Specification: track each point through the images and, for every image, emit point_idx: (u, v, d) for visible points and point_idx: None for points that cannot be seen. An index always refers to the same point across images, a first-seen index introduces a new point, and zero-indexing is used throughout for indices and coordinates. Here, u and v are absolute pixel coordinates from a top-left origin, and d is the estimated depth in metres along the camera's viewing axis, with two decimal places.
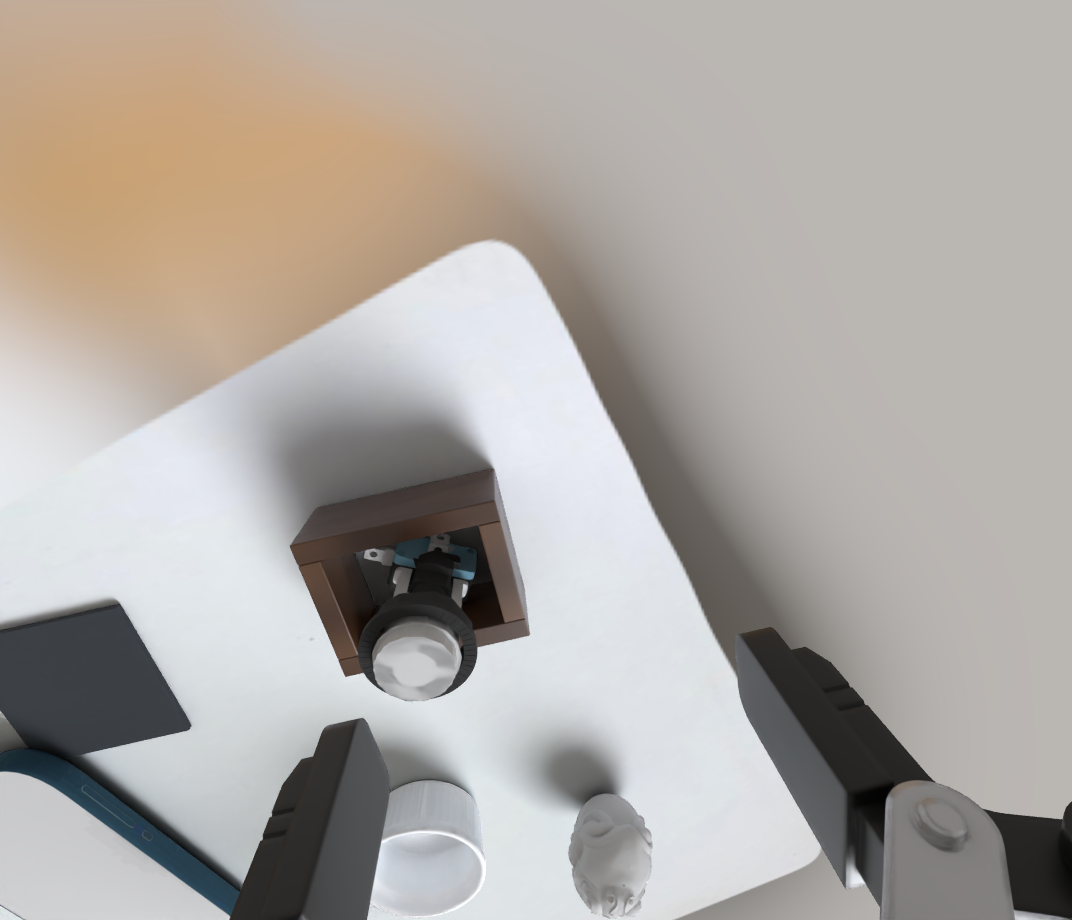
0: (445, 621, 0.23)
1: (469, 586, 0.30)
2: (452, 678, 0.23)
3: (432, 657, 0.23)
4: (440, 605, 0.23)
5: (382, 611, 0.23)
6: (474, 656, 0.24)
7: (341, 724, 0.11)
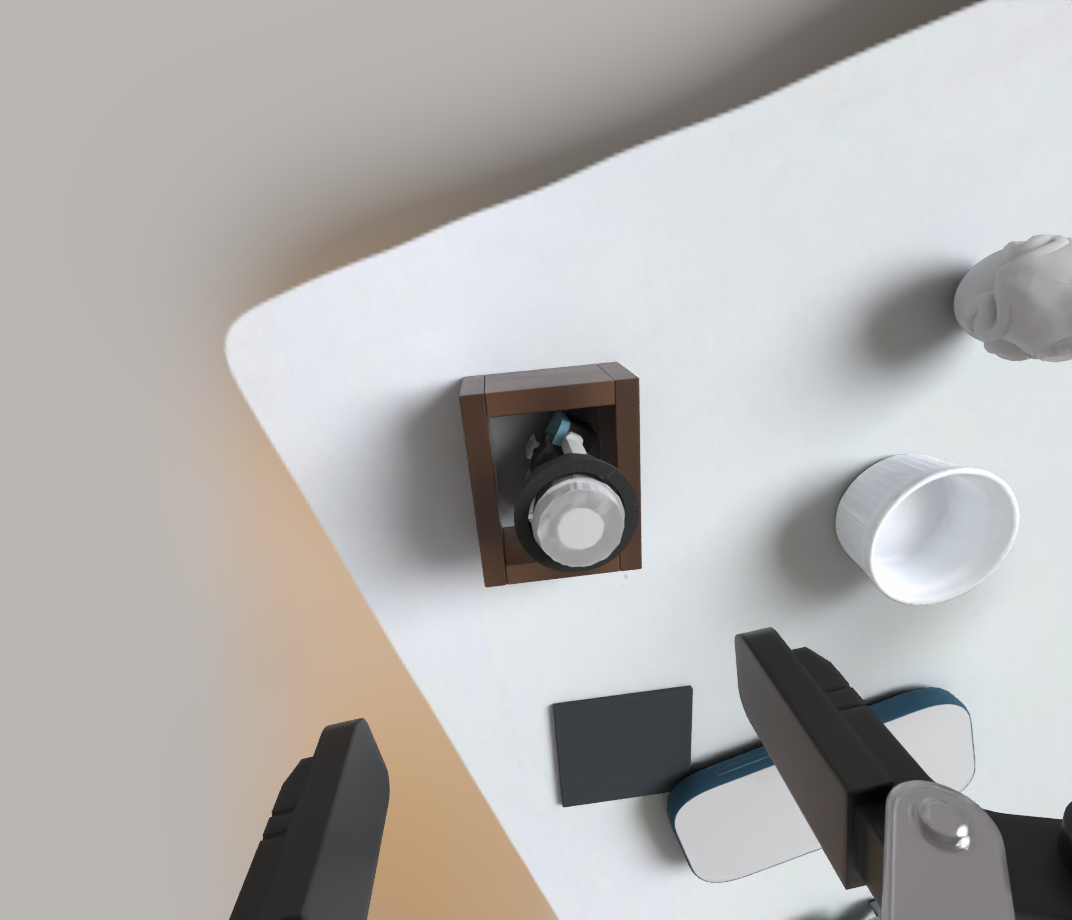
0: (541, 486, 0.22)
1: (578, 429, 0.28)
2: (601, 494, 0.21)
3: (569, 510, 0.21)
4: (523, 487, 0.22)
5: (520, 541, 0.23)
6: (594, 462, 0.22)
7: (341, 724, 0.11)
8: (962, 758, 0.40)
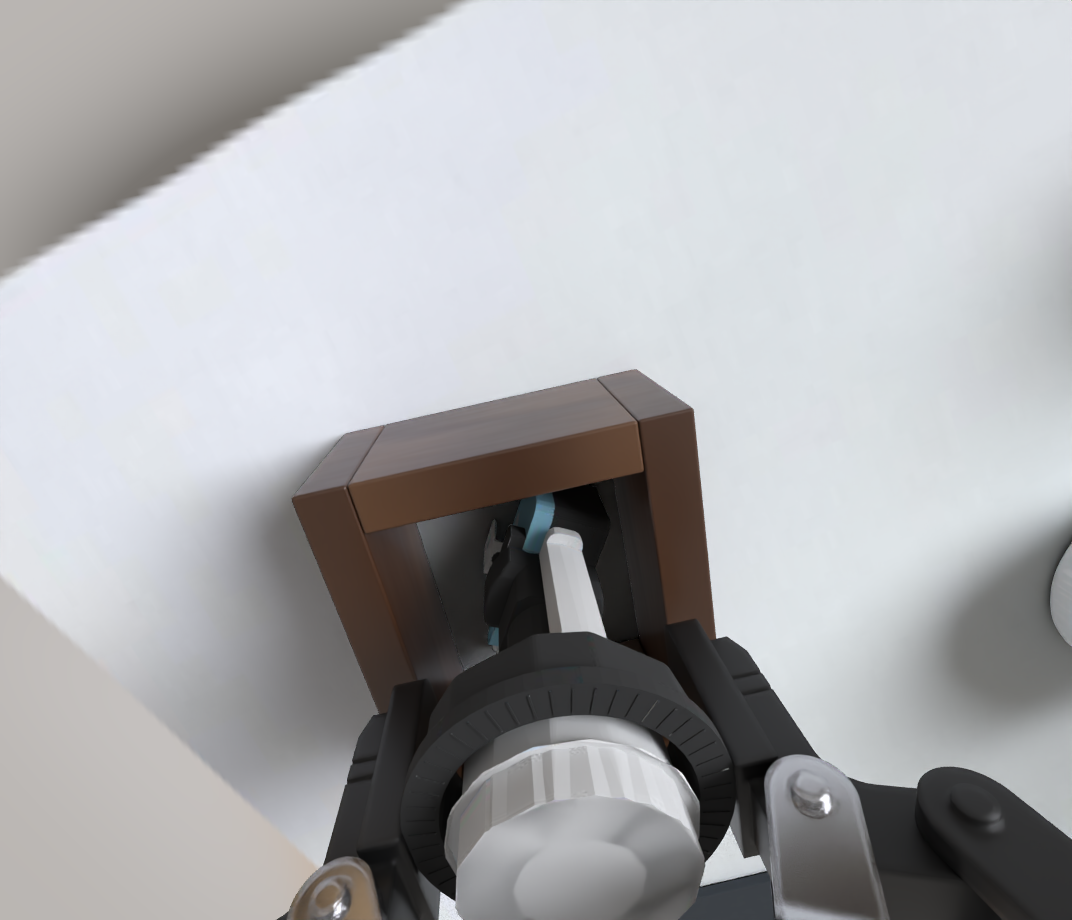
0: (460, 760, 0.08)
1: (572, 516, 0.14)
2: (628, 805, 0.07)
3: (537, 851, 0.07)
4: (413, 761, 0.08)
5: None
6: (600, 688, 0.07)
7: (410, 683, 0.11)
8: None
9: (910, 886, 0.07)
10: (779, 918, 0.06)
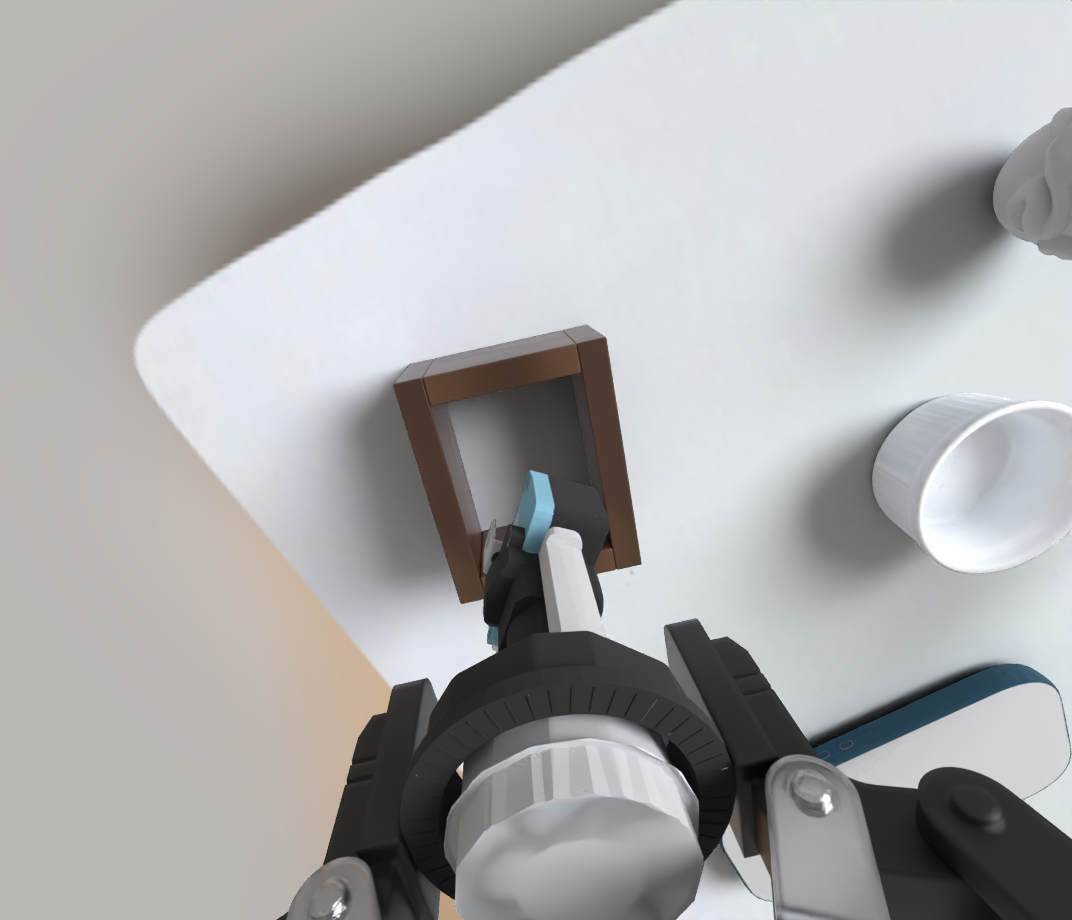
0: (459, 759, 0.08)
1: (571, 515, 0.14)
2: (627, 804, 0.07)
3: (536, 850, 0.07)
4: (413, 760, 0.08)
5: None
6: (599, 687, 0.07)
7: (409, 683, 0.11)
8: (1054, 742, 0.34)
9: (910, 886, 0.07)
10: (779, 918, 0.06)
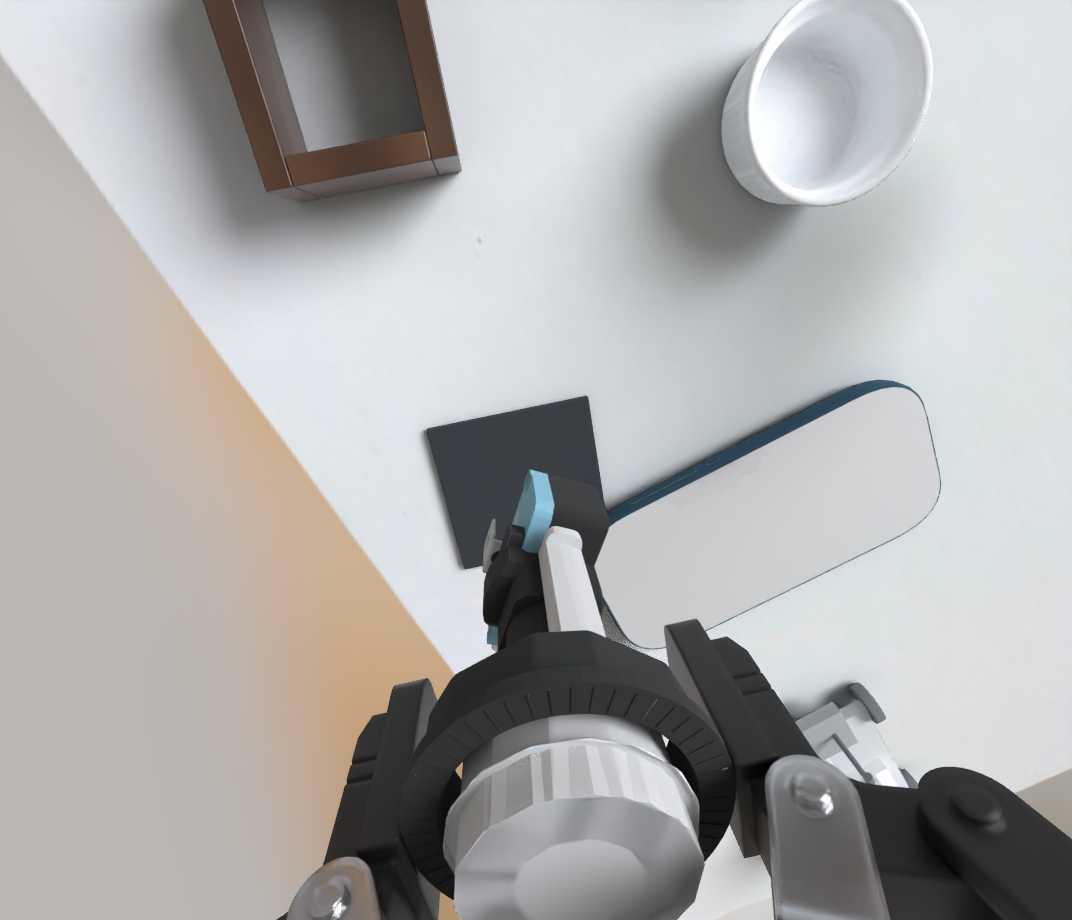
0: (458, 759, 0.08)
1: (571, 515, 0.14)
2: (627, 804, 0.07)
3: (536, 850, 0.07)
4: (412, 760, 0.08)
5: None
6: (599, 687, 0.07)
7: (409, 683, 0.11)
8: (923, 466, 0.34)
9: (910, 886, 0.07)
10: (779, 918, 0.06)
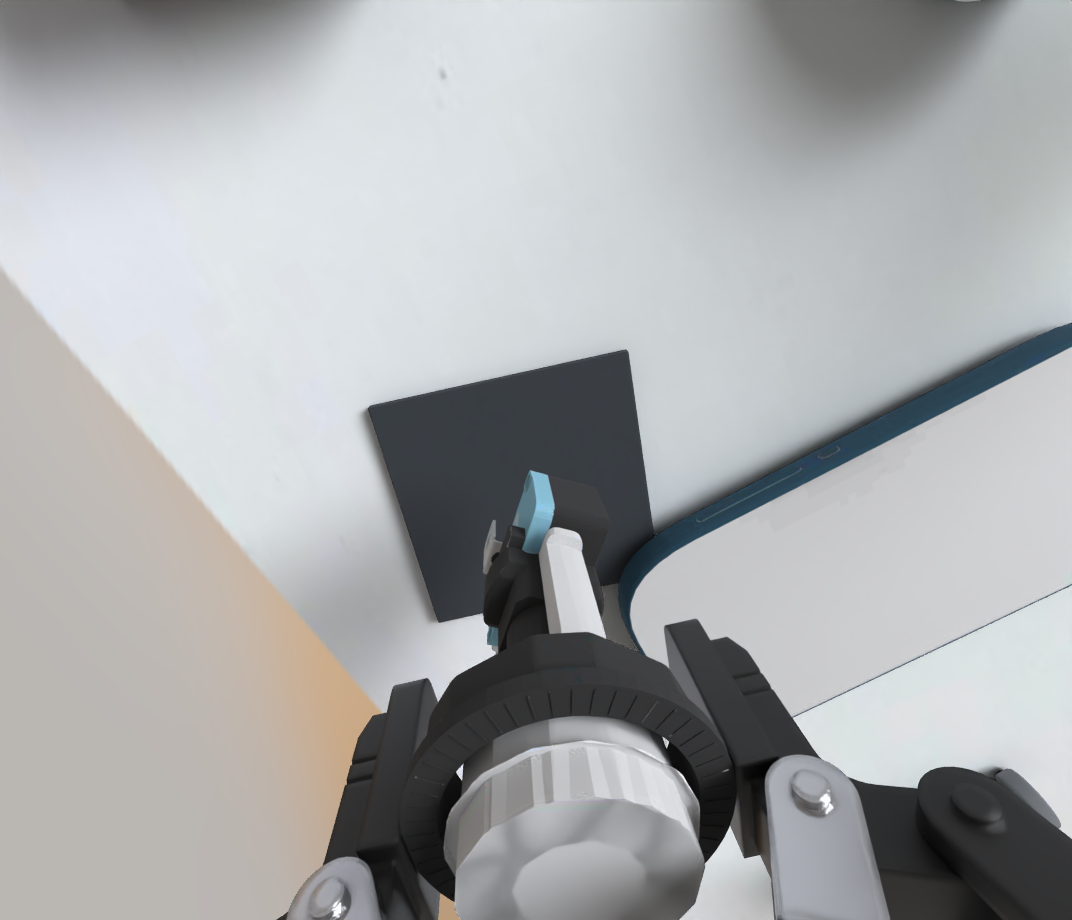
0: (459, 761, 0.08)
1: (572, 516, 0.14)
2: (628, 806, 0.07)
3: (536, 852, 0.07)
4: (412, 762, 0.08)
5: None
6: (600, 688, 0.07)
7: (409, 683, 0.11)
8: None
9: (910, 886, 0.07)
10: (780, 918, 0.06)
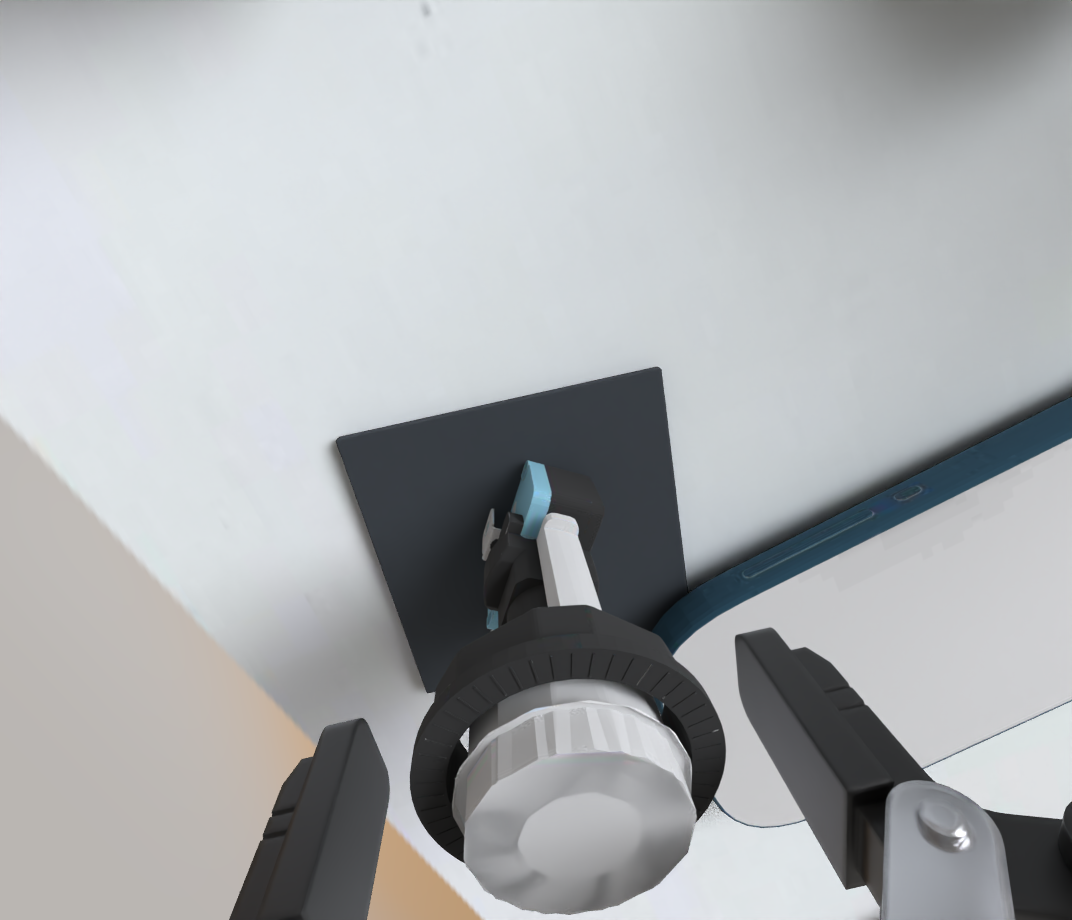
0: (466, 723, 0.08)
1: (568, 502, 0.14)
2: (625, 758, 0.07)
3: (540, 804, 0.08)
4: (422, 726, 0.08)
5: None
6: (598, 652, 0.08)
7: (341, 724, 0.11)
8: None
9: None
10: None
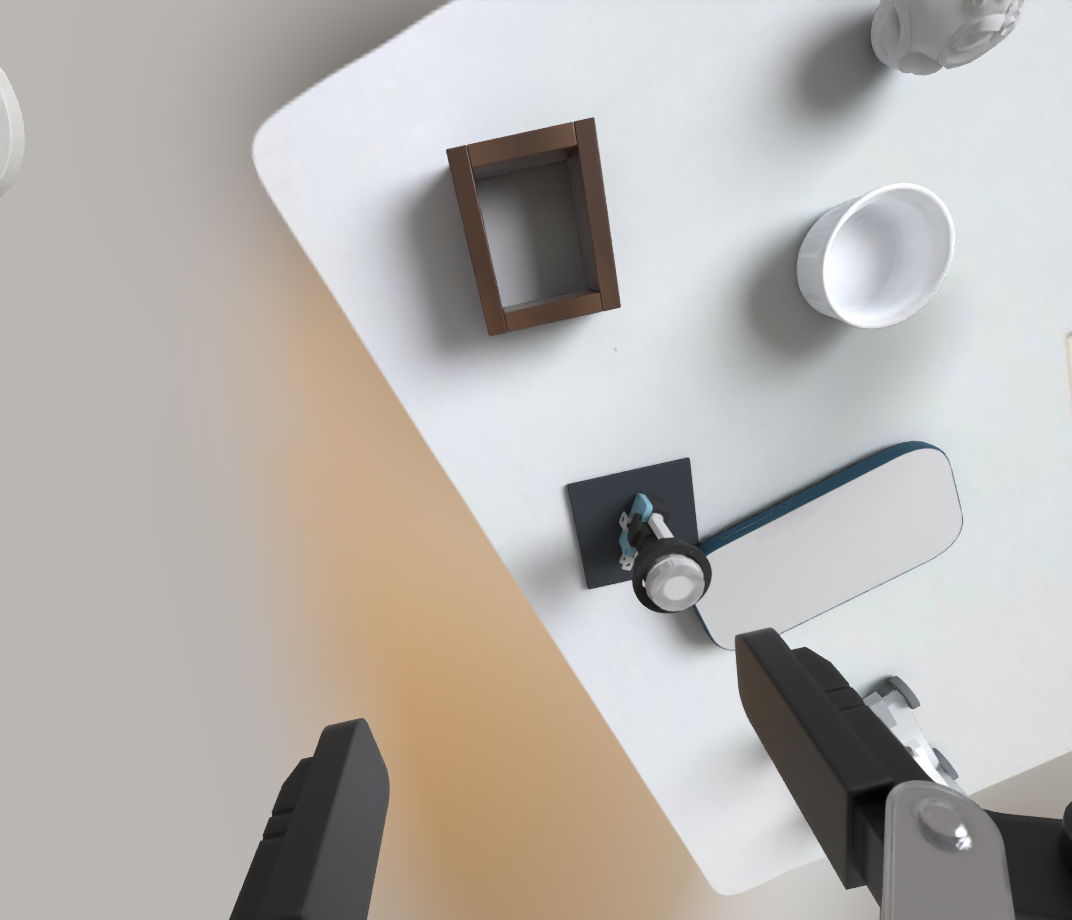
0: (649, 563, 0.35)
1: (658, 509, 0.41)
2: (689, 567, 0.34)
3: (669, 578, 0.34)
4: (637, 565, 0.35)
5: (637, 597, 0.36)
6: (681, 545, 0.34)
7: (341, 724, 0.11)
8: (948, 506, 0.44)
9: None
10: None
